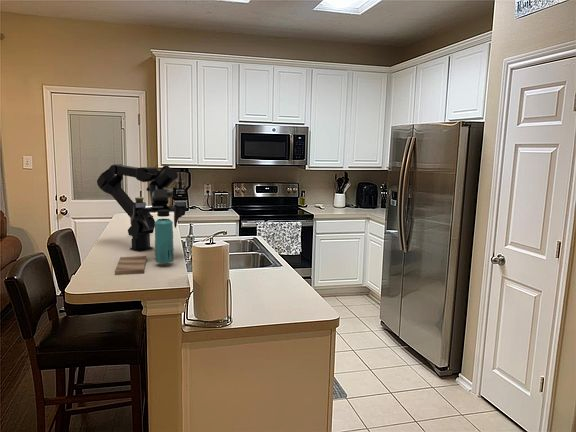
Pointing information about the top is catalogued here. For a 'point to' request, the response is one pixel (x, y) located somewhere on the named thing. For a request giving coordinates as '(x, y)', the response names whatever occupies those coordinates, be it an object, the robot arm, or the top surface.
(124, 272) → the walnut board
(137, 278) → the top surface
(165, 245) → the beverage bottle
